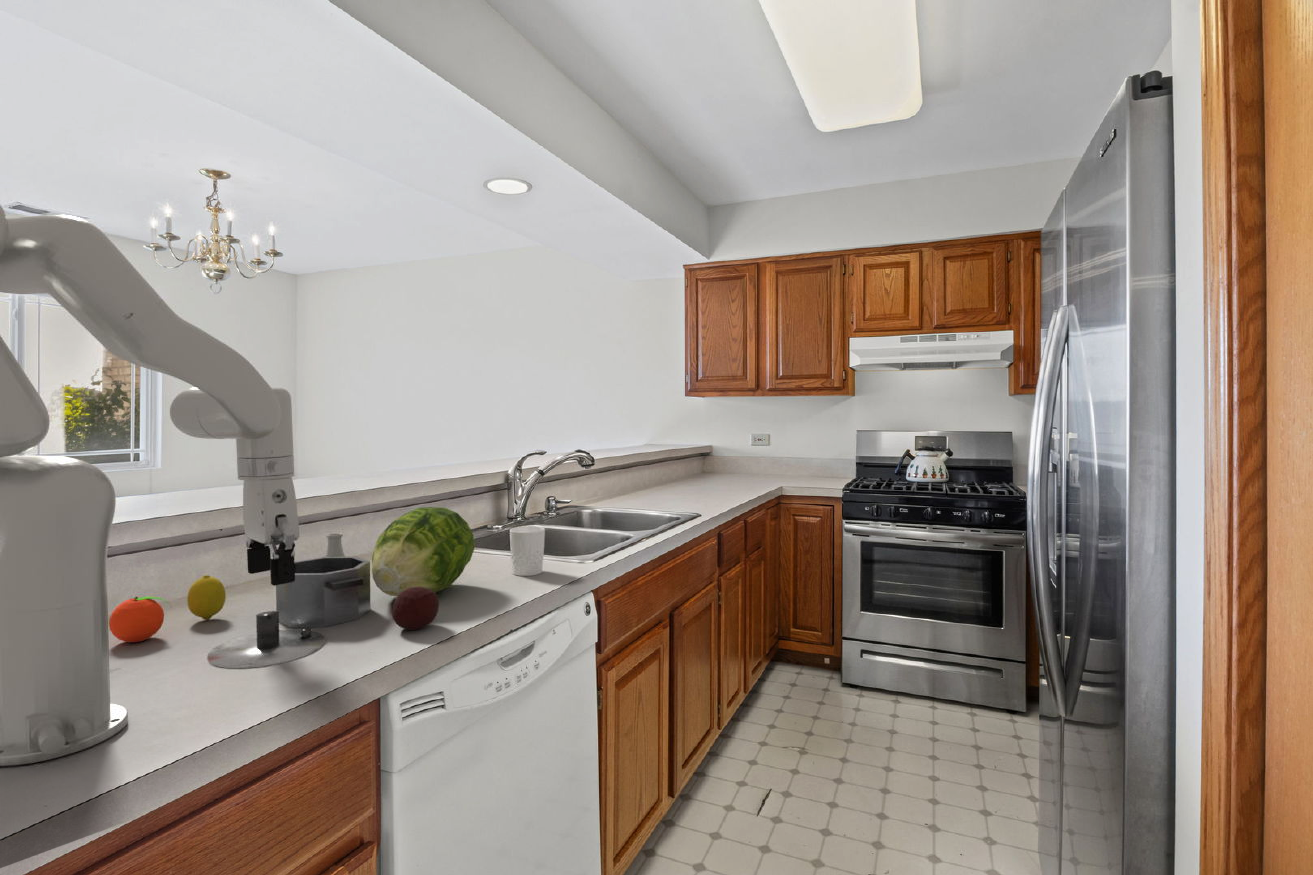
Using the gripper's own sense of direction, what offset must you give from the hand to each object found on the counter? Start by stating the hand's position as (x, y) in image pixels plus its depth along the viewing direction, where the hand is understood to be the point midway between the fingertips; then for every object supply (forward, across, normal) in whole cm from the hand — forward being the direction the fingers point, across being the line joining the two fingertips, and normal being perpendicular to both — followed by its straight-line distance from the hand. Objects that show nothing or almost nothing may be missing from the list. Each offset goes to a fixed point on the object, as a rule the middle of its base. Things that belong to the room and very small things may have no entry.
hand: (271, 577), depth 102 cm
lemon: (+11, +22, +3) cm, 25 cm away
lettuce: (+12, +10, -30) cm, 34 cm away
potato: (+12, -8, -19) cm, 24 cm away
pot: (+11, +10, -12) cm, 20 cm away
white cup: (+13, +8, -56) cm, 58 cm away
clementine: (+11, +18, +13) cm, 25 cm away
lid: (+11, 0, +1) cm, 11 cm away
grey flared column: (+12, +34, -24) cm, 44 cm away
